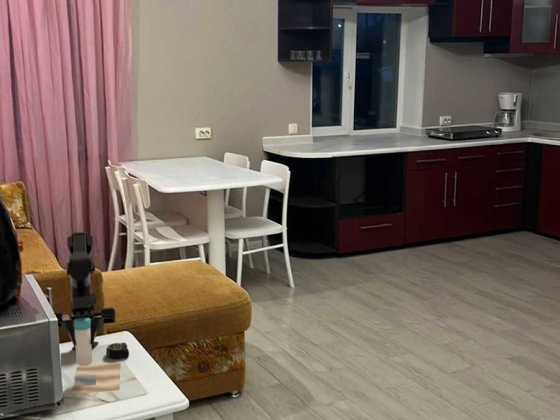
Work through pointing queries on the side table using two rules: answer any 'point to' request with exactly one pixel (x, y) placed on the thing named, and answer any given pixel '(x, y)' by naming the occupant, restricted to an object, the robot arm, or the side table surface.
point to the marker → (83, 341)
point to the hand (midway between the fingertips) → (83, 345)
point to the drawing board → (97, 378)
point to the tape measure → (117, 351)
